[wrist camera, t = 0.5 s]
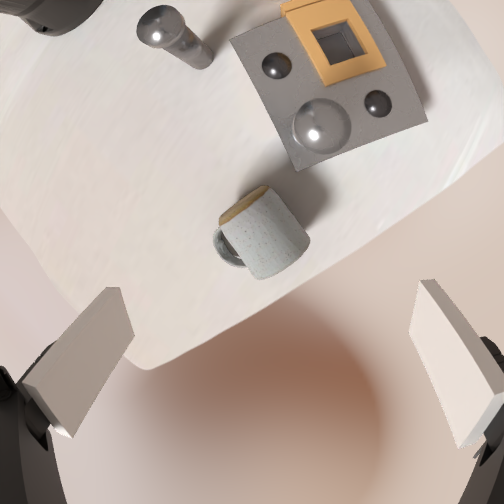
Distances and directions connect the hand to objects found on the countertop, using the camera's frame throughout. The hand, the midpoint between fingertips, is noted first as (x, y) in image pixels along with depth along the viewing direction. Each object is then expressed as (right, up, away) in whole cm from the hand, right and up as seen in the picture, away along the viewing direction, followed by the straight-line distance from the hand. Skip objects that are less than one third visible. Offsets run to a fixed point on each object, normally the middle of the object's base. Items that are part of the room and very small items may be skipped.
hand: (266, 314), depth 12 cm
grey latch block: (+8, +22, +17) cm, 29 cm away
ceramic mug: (0, +5, +25) cm, 26 cm away
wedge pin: (-7, +25, +18) cm, 31 cm away
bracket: (+6, +30, +14) cm, 34 cm away
